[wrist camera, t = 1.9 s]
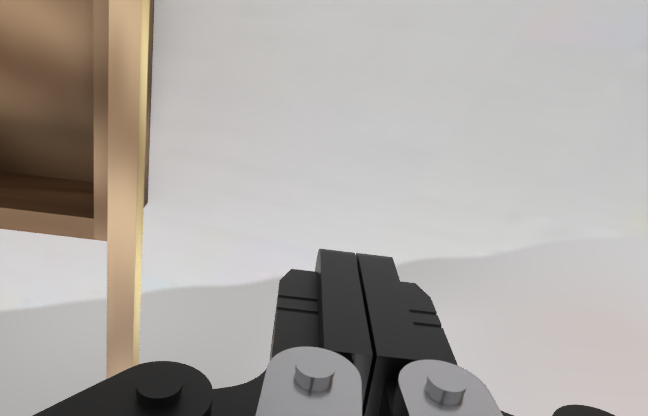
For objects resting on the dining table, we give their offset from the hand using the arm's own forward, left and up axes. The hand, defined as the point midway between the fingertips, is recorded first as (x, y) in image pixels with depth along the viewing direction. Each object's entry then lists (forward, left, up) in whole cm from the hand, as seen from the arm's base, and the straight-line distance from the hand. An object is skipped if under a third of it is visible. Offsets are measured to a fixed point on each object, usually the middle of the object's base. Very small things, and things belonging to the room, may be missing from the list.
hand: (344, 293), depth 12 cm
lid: (0, -8, -11) cm, 14 cm away
